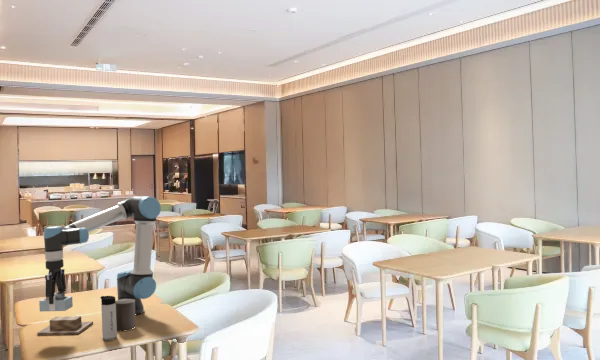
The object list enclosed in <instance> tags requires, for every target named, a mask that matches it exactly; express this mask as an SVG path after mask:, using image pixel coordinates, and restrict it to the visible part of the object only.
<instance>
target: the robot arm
mask: <svg viewBox="0 0 600 360" xmlns="http://www.w3.org/2000/svg"><path fill="white" fill-rule="evenodd" d="M161 210H162V206H161V203H160V201H159V200H158V199H157V198H156V197H153V196H149V195H146V196H145V195H134V196H132V197H129V198H127V199H124V200H122V201H119V202H117V203H116V205H115V206H113V207H110V208H107V209H105V210H102V211H99V212H97V213H95V214H92V215H90V216H88V217H85V218H82V219H80V220H77V221H74V222H73V223H70V224H67V225H65V226H64V225H61V226H60V225H59V226H58V225H55V226H47V227H45V228H44V229H43V241H44V255H45V257H44V258H45V262H44V263H45V269H46V270H48V274H46V275H45V276H44V279H45V298H46V297H49V311H48V312H57V311H56V300H55V296H54V293H55V292H56V289H57V292H66V291H67V290H66V289H67V285H66V277H65V269H64V259H63V258H64V253H63V252H64V249H63V246H70V245H79V244H85V243H87V242H88V241H89V237H90V234H89V233H91V232H93V231H95V230H98V229H100V228H103V227H105V226H107V225H109V224H112V223H114V222H117V221H120V220H124V221H125V220H127V219H129V218H133V222H134V223H135V225H136V226H135V240H134V243H135V244H134V258H133V259H134V260H133V269H132V270H126V271H125V270H124V271H120V272H117V274H116V286H117V287H116V289H117V300H121V299H134V300H135V314H137V315H139V314H138V313H140V314H142V313H144V311H145V309H144V303H143V302H142V300H146V299H149V298H150V297H152V296H153V294H154V293H155V291H156V289H157V281H156V280H155V279H154V271H152V270H151V269H152V267H151V264H152V263H151V262H152V250H153V249H152V248H153V233H154V231H153V230H154V229H153V228H154V224H156V222H157V217H158V216H159V215H160V214H161ZM141 312H142V313H141Z"/></svg>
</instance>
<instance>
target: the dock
mask: <svg viewBox="0 0 600 360" xmlns="http://www.w3.org/2000/svg"><path fill="white" fill-rule="evenodd" d="M93 324H94V322H93V321H82V316H81V315H79V316H76V315H73V316H55V317H53V318H51V319H49V325H48V326H46V327H44V328H43V329H41V330H40V331H38V332H37V334H36V335H37V336H58V335H59V336H66V335H67V336H68V335H73V334H77V335H80V334H81V333H83V332H84V331H85V330H87V329H89V327H91V326H93Z"/></svg>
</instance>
